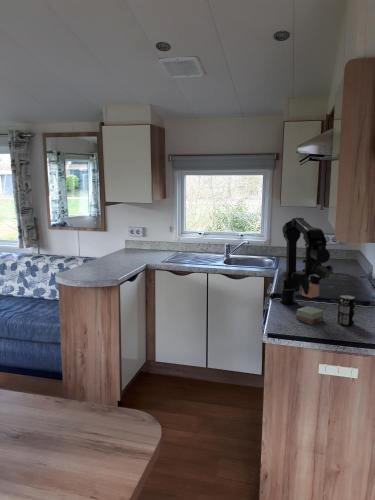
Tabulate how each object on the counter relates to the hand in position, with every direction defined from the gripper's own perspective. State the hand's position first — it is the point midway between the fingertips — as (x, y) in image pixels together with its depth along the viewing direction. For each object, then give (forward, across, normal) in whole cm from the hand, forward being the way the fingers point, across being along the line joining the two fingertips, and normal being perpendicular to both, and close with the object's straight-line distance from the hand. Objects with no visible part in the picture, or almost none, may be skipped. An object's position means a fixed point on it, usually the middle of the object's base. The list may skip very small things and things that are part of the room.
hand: (310, 293), depth 169 cm
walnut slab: (+12, 0, 0) cm, 13 cm away
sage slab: (+10, 0, 0) cm, 10 cm away
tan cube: (+1, 0, 0) cm, 1 cm away
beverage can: (+12, +9, -12) cm, 19 cm away
